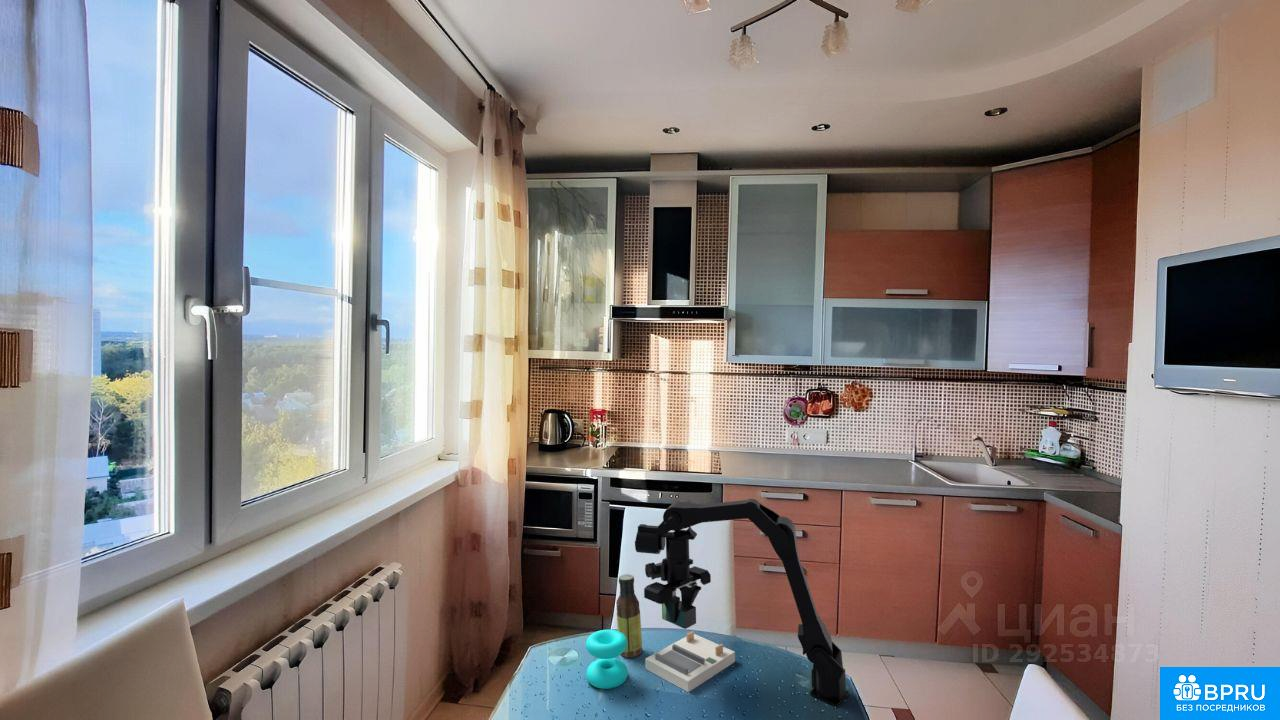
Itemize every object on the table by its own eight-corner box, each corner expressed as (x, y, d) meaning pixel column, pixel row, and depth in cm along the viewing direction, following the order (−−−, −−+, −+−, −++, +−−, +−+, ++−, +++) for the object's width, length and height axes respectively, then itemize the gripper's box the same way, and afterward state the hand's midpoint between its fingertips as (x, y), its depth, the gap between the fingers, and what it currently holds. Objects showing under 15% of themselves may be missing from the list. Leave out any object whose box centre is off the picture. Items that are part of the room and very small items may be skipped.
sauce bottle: (643, 647, 144) (641, 572, 144) (640, 659, 137) (639, 581, 138) (619, 646, 144) (617, 571, 145) (615, 658, 138) (614, 580, 138)
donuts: (634, 632, 131) (613, 651, 122) (635, 673, 131) (614, 695, 122) (599, 624, 136) (577, 642, 127) (600, 664, 136) (578, 684, 127)
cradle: (735, 661, 135) (734, 643, 135) (688, 692, 123) (687, 672, 123) (692, 642, 145) (692, 625, 145) (645, 668, 133) (645, 650, 133)
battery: (696, 623, 130) (695, 606, 130) (685, 629, 128) (684, 612, 128) (672, 613, 136) (671, 597, 136) (661, 618, 133) (660, 602, 133)
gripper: (678, 539, 144) (680, 598, 144) (627, 557, 131) (629, 621, 131) (711, 548, 136) (712, 610, 136) (660, 568, 123) (661, 637, 123)
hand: (679, 619), depth 132 cm, fingers closed on battery, 4 cm apart
